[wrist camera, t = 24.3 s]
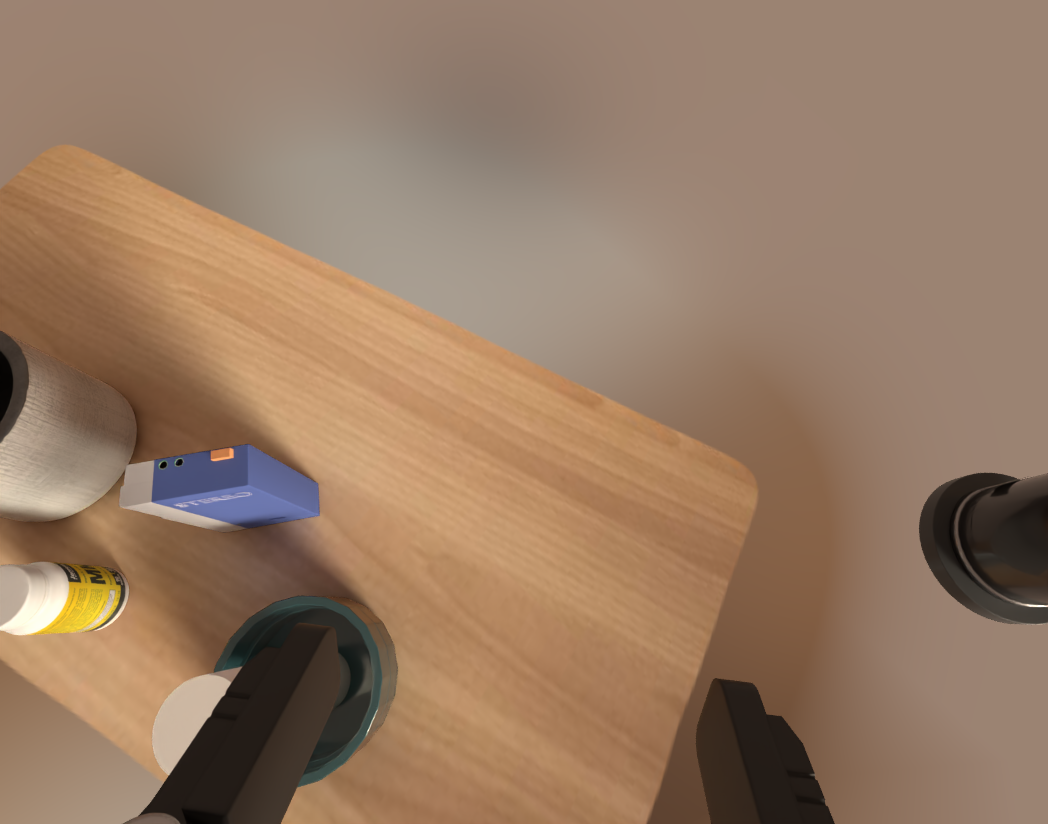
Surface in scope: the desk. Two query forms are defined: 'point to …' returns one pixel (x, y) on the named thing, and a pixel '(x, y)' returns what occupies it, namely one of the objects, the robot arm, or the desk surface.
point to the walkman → (220, 489)
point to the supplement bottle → (59, 597)
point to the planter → (57, 435)
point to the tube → (202, 711)
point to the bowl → (362, 650)
